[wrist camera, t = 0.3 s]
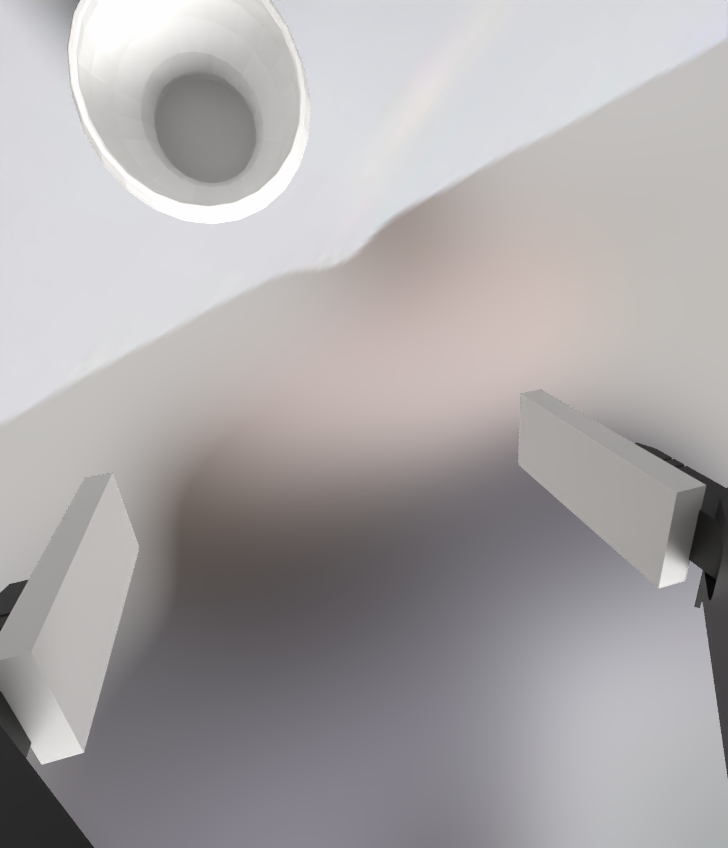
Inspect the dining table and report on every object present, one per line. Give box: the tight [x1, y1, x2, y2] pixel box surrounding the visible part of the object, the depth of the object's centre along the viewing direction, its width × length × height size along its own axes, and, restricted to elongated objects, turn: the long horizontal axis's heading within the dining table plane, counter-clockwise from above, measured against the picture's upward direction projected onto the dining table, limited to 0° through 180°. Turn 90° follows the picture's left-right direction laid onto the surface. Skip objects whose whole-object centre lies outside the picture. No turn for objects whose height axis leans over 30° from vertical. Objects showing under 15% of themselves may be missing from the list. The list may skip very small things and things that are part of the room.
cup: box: [67, 0, 311, 224], centre depth 28 cm, size 11×11×15 cm
